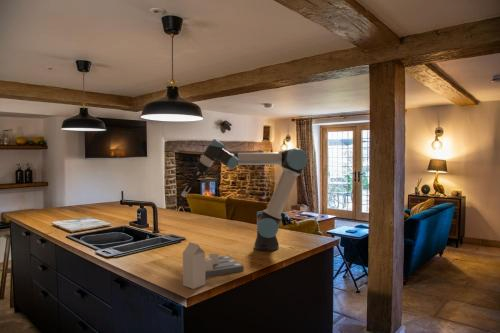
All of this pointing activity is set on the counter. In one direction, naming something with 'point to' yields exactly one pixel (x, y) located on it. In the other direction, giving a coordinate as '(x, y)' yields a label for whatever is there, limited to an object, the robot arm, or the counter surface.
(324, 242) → the counter surface
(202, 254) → the milk carton
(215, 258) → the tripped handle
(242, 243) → the counter surface
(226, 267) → the breaker panel
